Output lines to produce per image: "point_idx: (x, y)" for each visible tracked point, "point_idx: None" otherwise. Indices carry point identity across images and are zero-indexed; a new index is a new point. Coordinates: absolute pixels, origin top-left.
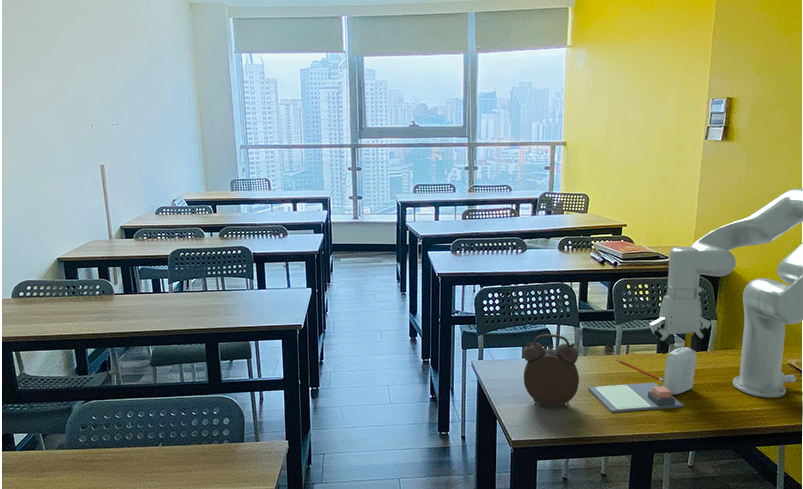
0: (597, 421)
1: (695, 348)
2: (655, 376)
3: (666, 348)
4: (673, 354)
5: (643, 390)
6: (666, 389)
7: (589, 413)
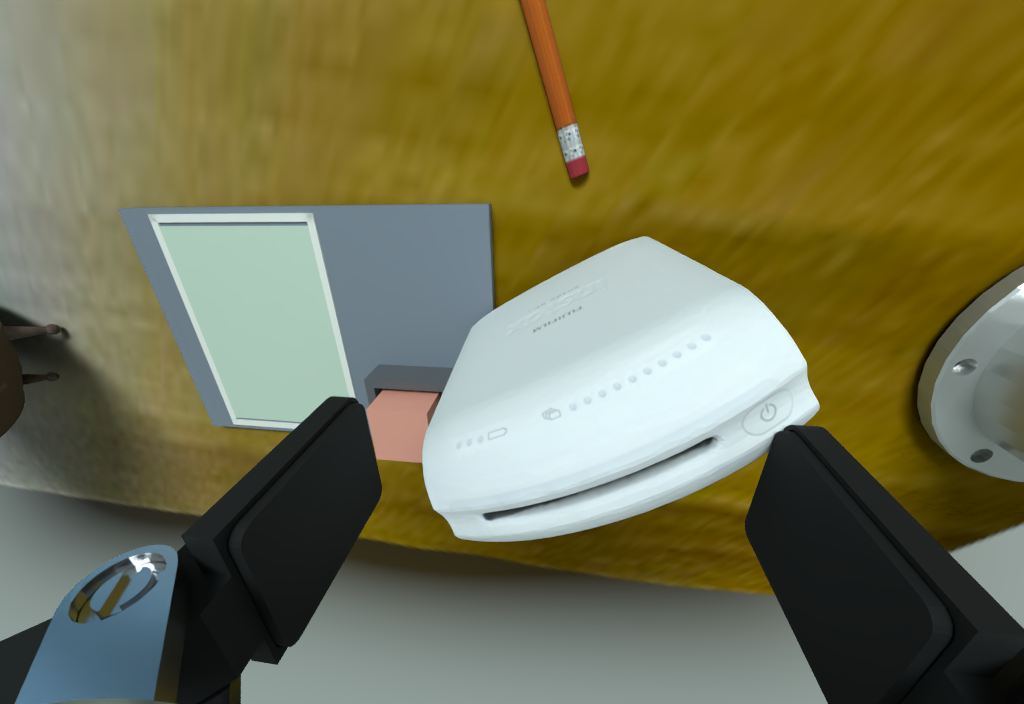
0: (173, 456)
1: (767, 534)
2: (551, 93)
3: (351, 547)
4: (447, 518)
5: (384, 294)
6: (422, 444)
7: (147, 409)
